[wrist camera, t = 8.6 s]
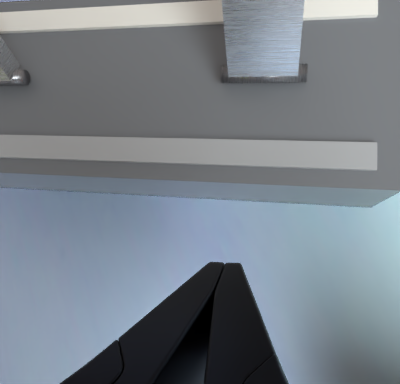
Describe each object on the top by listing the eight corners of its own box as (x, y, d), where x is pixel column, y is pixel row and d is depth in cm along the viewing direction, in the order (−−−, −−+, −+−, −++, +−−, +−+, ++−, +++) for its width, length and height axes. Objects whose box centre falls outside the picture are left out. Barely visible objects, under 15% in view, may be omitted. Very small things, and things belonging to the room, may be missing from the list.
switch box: (370, 207, 20) (403, 189, 15) (-34, 185, 25) (-110, 167, 20) (372, 39, 22) (401, -27, 17) (-9, 52, 27) (-73, 4, 22)
